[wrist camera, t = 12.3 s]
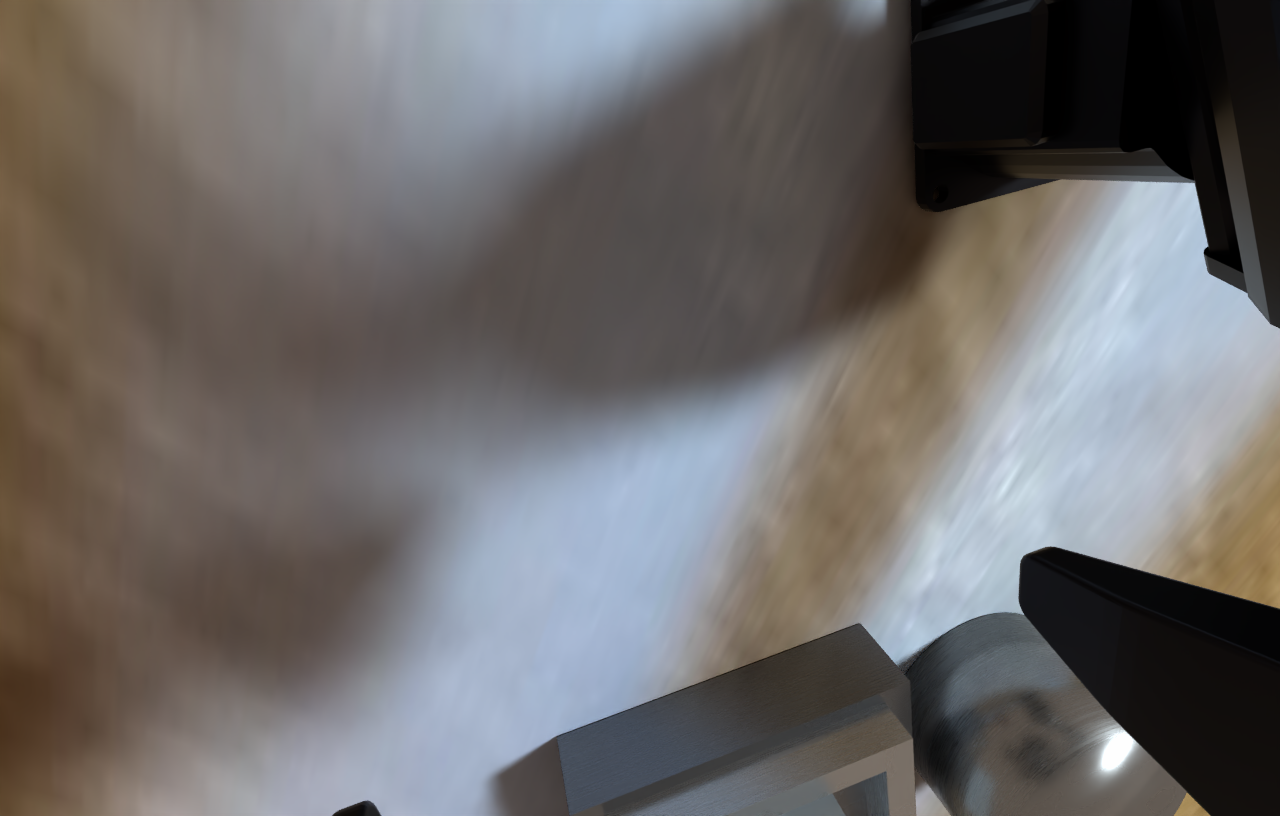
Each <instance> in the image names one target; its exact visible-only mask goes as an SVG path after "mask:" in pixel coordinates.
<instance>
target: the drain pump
mask: <svg viewBox="0 0 1280 816" xmlns="http://www.w3.org/2000/svg"><path fill="white" fill-rule="evenodd" d="M779 816H845V814H844V812H843V811H842V809H841V807H840V805H839V804H838V802H837V800H836V798H835V797H834V795H833V793H832V794H830V795H827V796H825V797H823V798H820V799H818V800H815V801H813V802H811V803H808V804H806V805H803V806H801V807H799V808H796V809H794V810H791V811H789V812H787V813H784V814H782V815H779Z"/></svg>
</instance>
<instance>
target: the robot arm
mask: <svg viewBox="0 0 1280 816" xmlns="http://www.w3.org/2000/svg"><path fill="white" fill-rule="evenodd" d="M911 22H912V45H911V70H912V107H913V140H914V142H915V171H916V199H917V203H918V205H919V206H920V208H921V209H923V210H925V211H931V212H942V211H945V210H949V209H953V208H956V207H960V206H964V205H968V204H971V203H975V202H979V201H982V200H986V199H990V198H993V197H997V196H1001V195H1005V194H1008V193H1012V192H1016V191H1019V190H1023V189H1027V188H1030V187H1034V186H1038V185H1042V184H1045V183H1049V182H1053V181H1056V180H1060V179H1069V180H1105V181H1140V182H1175V183H1195V187H1196V191H1197V196H1198V201H1199V205H1200V210H1201V215H1202V219H1203V224H1204V229H1205V233H1206V238H1207V243H1208V247H1207V248H1206V249H1205V250H1204V257H1205V262H1206V266H1207V271H1208V273H1209V274H1211V275H1213V276H1215V277H1217V278H1219V279H1221V280H1223V281H1225V282H1227V283H1228V284H1230V285H1232V286H1234V287H1236V288H1238V289H1240V290H1242V291H1244V292H1246V293H1248V297H1249V298H1250V300H1251V301H1252V302H1253V303H1254V305H1255V306H1256V307H1257V308H1258V309H1259V311H1260V312H1261V313H1262V314H1263V316H1264V317H1265V318H1266V319H1267V320H1268V322H1269V323H1270V324H1272V325H1274V326H1276V327H1278V328H1280V0H911ZM937 186H938V188H939V195H938V197H937V199H936V200H935V201H934V199H933V192H934V190H935V188H936V187H937ZM1019 604H1020V607H1021V609H1022V611H1023V613H1024V615H1025V616H1026V618H1027V619H1028V620H1029V621H1030V623H1031V624H1032V625H1033V626H1034V627H1035V629H1036V630H1037V631H1038V632H1039V633H1040V634H1041V636H1042V637H1043V638H1044V639H1045V640H1046V641H1047V643H1048V644H1049V645H1050V646H1051V647H1052V649H1053V650H1054V651H1055V652H1056V653H1057V654H1058V656H1059V657H1060V658H1061V659H1062V660H1063V661H1064V663H1065V664H1066V665H1067V666H1068V667H1069V669H1070V670H1071V671H1072V672H1073V673H1074V674H1075V676H1076V677H1077V678H1078V679H1079V680H1080V681H1081V683H1082V684H1083V685H1084V686H1085V687H1086V689H1087V690H1088V691H1089V692H1090V693H1091V694H1092V696H1093V697H1094V698H1095V699H1096V700H1097V701H1098V702H1099V703H1100V705H1101V706H1102V707H1103V708H1104V709H1105V710H1106V711H1107V712H1108V713H1109V715H1110V716H1111V717H1112V718H1113V719H1114V720H1115V721H1116V722H1117V723H1118V724H1119V725H1120V726H1121V727H1122V728H1123V729H1124V730H1125V731H1126V732H1127V733H1128V734H1129V735H1130V736H1131V737H1132V738H1133V739H1134V740H1135V741H1136V742H1137V743H1138V744H1139V745H1140V746H1141V747H1142V748H1143V749H1144V750H1145V751H1146V752H1147V753H1148V754H1149V755H1150V756H1151V757H1152V758H1153V759H1154V760H1155V761H1156V762H1157V763H1158V764H1159V765H1160V766H1161V767H1162V768H1163V769H1164V770H1165V771H1166V772H1167V773H1168V774H1169V775H1170V776H1171V777H1172V778H1173V779H1174V780H1175V781H1176V782H1177V783H1178V784H1179V785H1180V786H1181V787H1182V788H1183V789H1184V790H1185V791H1186V792H1187V793H1188V794H1189V795H1190V796H1191V797H1192V798H1193V799H1194V800H1195V801H1196V802H1197V803H1198V804H1199V805H1200V806H1201V807H1203V808H1204V809H1205V810H1206V811H1207V812H1208V813H1209V814H1210V815H1211V816H1280V609H1279V608H1275V607H1271V606H1268V605H1264V604H1261V603H1257V602H1253V601H1250V600H1246V599H1242V598H1239V597H1235V596H1232V595H1228V594H1224V593H1221V592H1217V591H1213V590H1210V589H1206V588H1203V587H1199V586H1195V585H1192V584H1188V583H1184V582H1181V581H1177V580H1174V579H1170V578H1166V577H1163V576H1159V575H1155V574H1152V573H1148V572H1145V571H1141V570H1137V569H1134V568H1130V567H1126V566H1123V565H1119V564H1115V563H1112V562H1108V561H1105V560H1101V559H1097V558H1094V557H1090V556H1086V555H1083V554H1079V553H1076V552H1072V551H1068V550H1065V549H1061V548H1057V547H1045V548H1042V549H1039V550H1036V551H1034V552H1031V553H1028V554H1026V555H1025V556H1023V558H1022V559H1021V563H1020V578H1019ZM332 816H381V814H380V813H379V811H378V809H377V807H376V806H375V805H374V804H373V803H372V802H371V801H363V802H360V803H357V804H354V805H352V806H349V807H346V808H344V809H341V810H339V811H337V812H336V813H334V814H333V815H332Z"/></svg>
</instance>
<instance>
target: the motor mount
mask: <svg viewBox="0 0 1280 816" xmlns="http://www.w3.org/2000/svg"><path fill="white" fill-rule="evenodd" d="M557 741H558V747H559V754H560V760H561V766H562V772H563V779H564V785H565V791H566V798H567V804H568V810H569V816H779V815H782V814H784V813H787V812H789V811H791V810H794V809H796V808H799V807H801V806H803V805H806V804H808V803H811V802H813V801H815V800H818V799H820V798H823V797H825V796H827V795H830V794H832V793H833V795H834V797H835V798H836V800H837V802H838V804H839V805H840V807H841V809H842V811H843V812H844V814H845V816H916V799H915V776H914V766H915V768H916V769H917V771H918V772H919V773H920V775H921V776H922V777H923V779H924V780H925V781H926V783H927V784H928V785H929V787H930V788H931V789H932V791H933V792H934V793H935V795H936V796H937V797H938V799H939V800H940V801H941V803H942V804H943V805H944V807H945V808H946V810H947V811H948V812H949V814H950V815H951V816H1174V814H1175V813H1176V811H1177V810H1178V808H1179V806H1180V804H1181V803H1182V801H1183V799H1184V797H1185V795H1186V791H1185V790H1184V789H1183V788H1182V787H1181V786H1180V785H1179V784H1178V783H1177V782H1176V781H1175V780H1174V779H1173V778H1172V777H1171V776H1170V775H1169V774H1168V773H1167V772H1166V771H1165V770H1164V769H1163V768H1162V767H1161V766H1160V765H1159V764H1158V763H1157V762H1156V761H1155V760H1154V759H1153V758H1152V757H1151V756H1150V755H1149V754H1148V753H1147V752H1146V751H1145V750H1144V749H1143V748H1142V747H1141V746H1140V745H1139V744H1138V743H1137V742H1136V741H1135V740H1134V739H1133V738H1132V737H1131V736H1130V735H1129V734H1128V733H1127V732H1126V731H1125V730H1124V729H1123V728H1122V727H1121V726H1120V725H1119V724H1118V723H1117V722H1116V721H1115V720H1114V719H1113V718H1112V717H1111V716H1110V715H1109V713H1108V712H1107V711H1106V710H1105V709H1104V708H1103V707H1102V706H1101V705H1100V703H1099V702H1098V701H1097V700H1096V699H1095V698H1094V697H1093V696H1092V694H1091V693H1090V692H1089V691H1088V690H1087V689H1086V687H1085V686H1084V685H1083V684H1082V683H1081V681H1080V680H1079V679H1078V678H1077V677H1076V676H1075V674H1074V673H1073V672H1072V671H1071V670H1070V669H1069V667H1068V666H1067V665H1066V664H1065V663H1064V661H1063V660H1062V659H1061V658H1060V657H1059V656H1058V654H1057V653H1056V652H1055V651H1054V650H1053V649H1052V647H1051V646H1050V645H1049V644H1048V643H1047V641H1046V640H1045V639H1044V638H1043V637H1042V636H1041V634H1040V633H1039V632H1038V631H1037V630H1036V629H1035V627H1034V626H1033V625H1032V624H1031V623H1030V621H1029V620H1028V619H1027V618H1026V616H1025V615H1022V614H1017V613H995V614H990V615H986V616H982V617H979V618H976V619H973V620H971V621H969V622H966V623H964V624H962V625H960V626H958V627H957V628H955V629H953V630H951V631H950V632H948V633H947V634H945V635H944V636H942V637H941V638H940V639H938V640H937V641H936V642H935V643H933V644H932V645H931V646H930V647H929V648H928V649H927V650H926V651H925V652H924V653H923V654H922V655H921V656H920V657H919V658H918V659H917V660H916V661H915V663H914V664H913V665H912V666H911V668H910V669H909V671H908V672H907V673H906V675H904V674H903V672H902V671H901V670H900V669H899V668H898V667H897V665H896V664H895V663H894V662H893V661H892V660H891V658H890V657H889V656H888V655H887V654H886V653H885V651H884V650H883V649H882V648H881V647H880V646H879V644H878V643H877V642H876V641H875V640H874V639H873V637H872V636H871V635H870V634H869V633H868V632H867V630H866V629H865V628H864V627H863V626H862V625H861V623H860V624H857V625H855V626H852V627H849V628H847V629H844V630H841V631H839V632H836V633H833V634H831V635H828V636H825V637H823V638H820V639H817V640H815V641H812V642H809V643H807V644H804V645H801V646H799V647H796V648H793V649H791V650H788V651H785V652H783V653H780V654H777V655H775V656H772V657H769V658H767V659H764V660H761V661H759V662H756V663H753V664H750V665H748V666H745V667H742V668H740V669H737V670H734V671H732V672H729V673H726V674H724V675H721V676H718V677H716V678H713V679H710V680H708V681H705V682H702V683H700V684H697V685H694V686H692V687H689V688H686V689H684V690H681V691H678V692H676V693H673V694H670V695H668V696H665V697H662V698H660V699H657V700H654V701H652V702H649V703H646V704H644V705H641V706H638V707H636V708H633V709H630V710H628V711H625V712H622V713H620V714H617V715H614V716H612V717H609V718H606V719H604V720H601V721H598V722H596V723H593V724H590V725H588V726H585V727H582V728H580V729H577V730H574V731H572V732H569V733H566V734H564V735H561V736H558V737H557Z"/></svg>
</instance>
